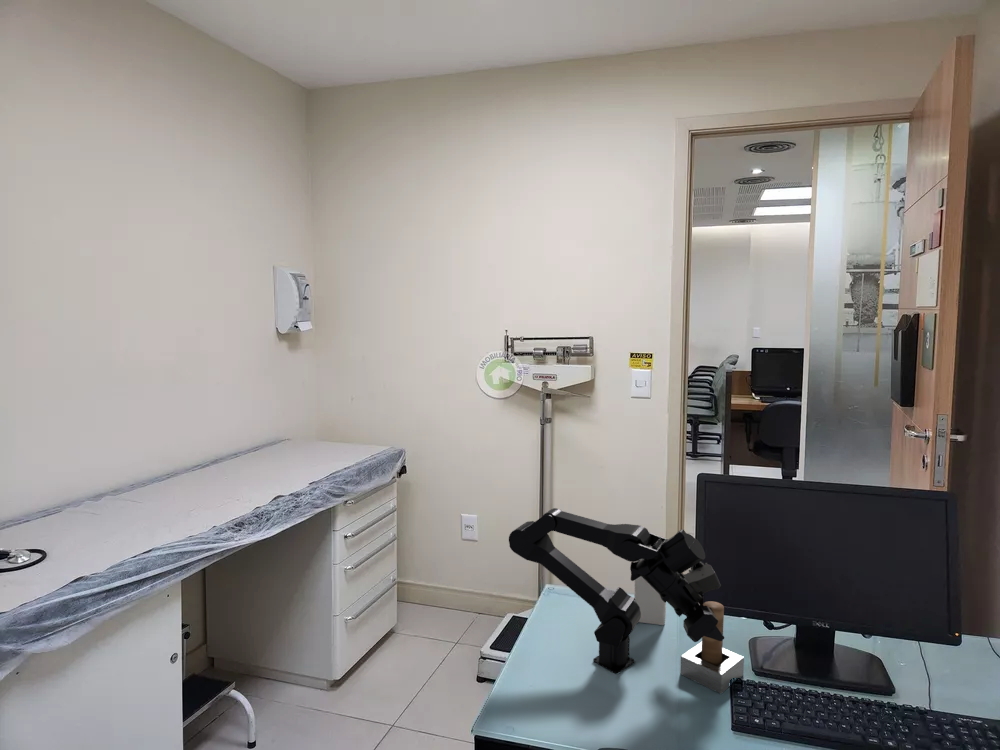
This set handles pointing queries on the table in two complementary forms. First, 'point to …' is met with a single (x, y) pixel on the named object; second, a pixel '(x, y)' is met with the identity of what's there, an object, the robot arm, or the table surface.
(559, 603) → the table surface
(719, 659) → the peg
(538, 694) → the table surface
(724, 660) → the socket block
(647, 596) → the milk carton
